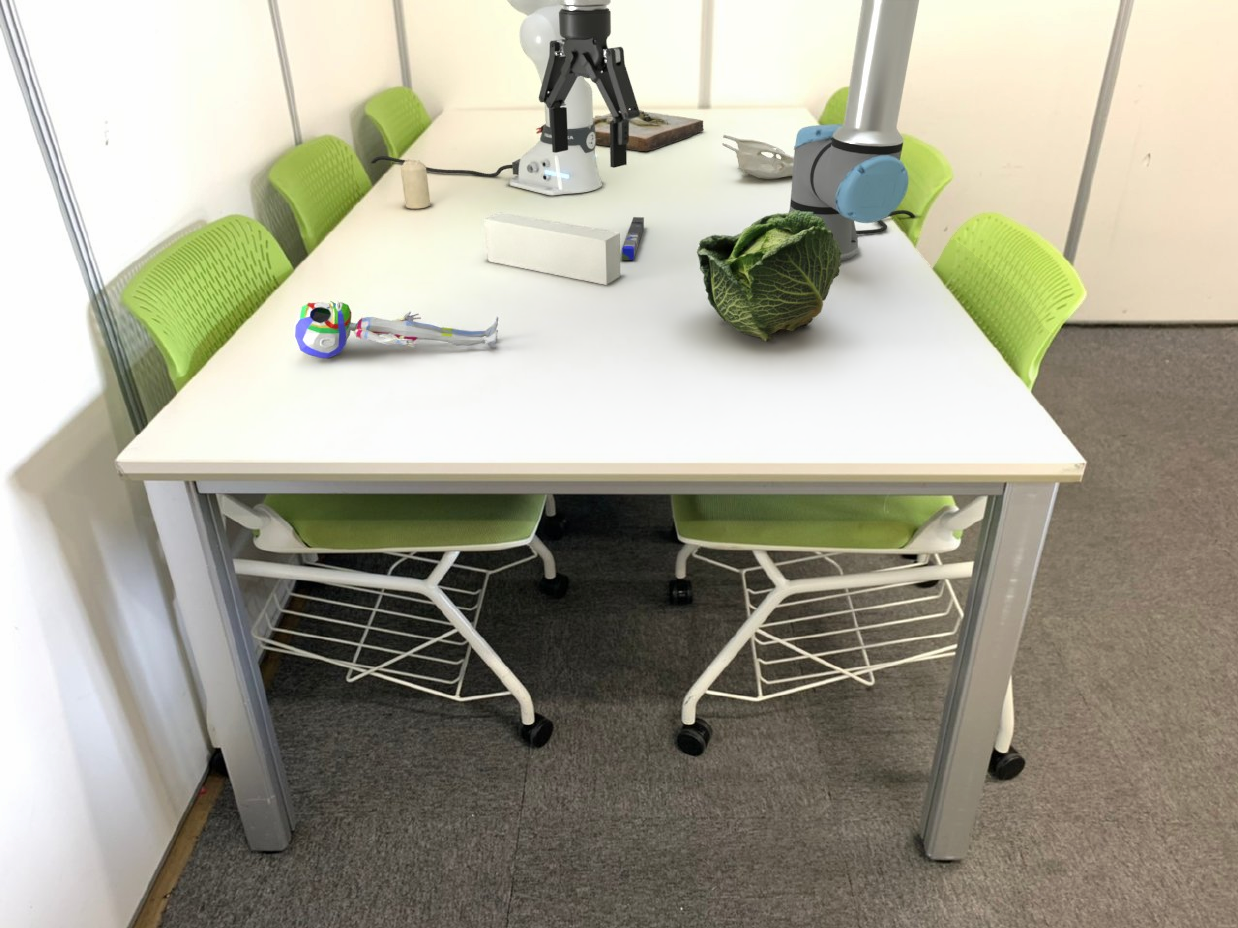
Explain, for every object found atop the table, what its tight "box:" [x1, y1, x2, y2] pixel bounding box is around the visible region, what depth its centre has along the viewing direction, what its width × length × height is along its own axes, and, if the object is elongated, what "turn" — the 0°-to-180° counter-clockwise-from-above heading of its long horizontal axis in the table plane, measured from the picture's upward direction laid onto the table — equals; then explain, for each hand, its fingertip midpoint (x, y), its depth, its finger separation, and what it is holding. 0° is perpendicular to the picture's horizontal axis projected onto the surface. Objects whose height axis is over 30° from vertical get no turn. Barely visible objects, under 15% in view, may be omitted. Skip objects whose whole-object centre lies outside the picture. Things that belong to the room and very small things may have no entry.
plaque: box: [593, 109, 705, 152], centre depth 257 cm, size 30×7×30 cm
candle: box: [399, 158, 431, 210], centre depth 200 cm, size 6×6×10 cm
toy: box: [293, 300, 499, 359], centre depth 136 cm, size 10×8×30 cm
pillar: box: [621, 216, 645, 261], centre depth 178 cm, size 2×2×20 cm
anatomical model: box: [721, 134, 794, 180], centre depth 217 cm, size 15×9×25 cm
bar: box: [483, 211, 621, 286], centre depth 165 cm, size 26×5×8 cm, turn 60°
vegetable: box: [696, 210, 842, 342], centre depth 138 cm, size 20×19×20 cm
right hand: (588, 158), depth 141 cm, fingers open, 13 cm apart
